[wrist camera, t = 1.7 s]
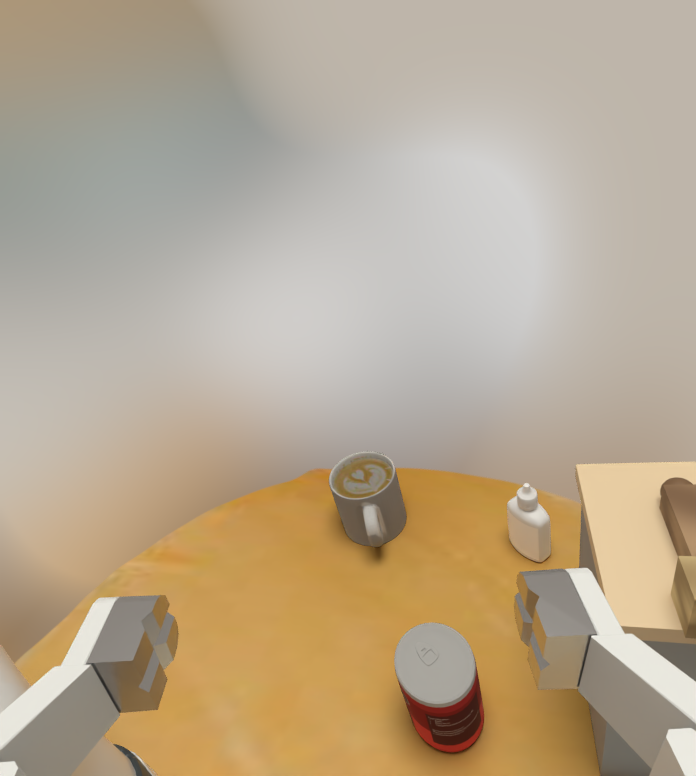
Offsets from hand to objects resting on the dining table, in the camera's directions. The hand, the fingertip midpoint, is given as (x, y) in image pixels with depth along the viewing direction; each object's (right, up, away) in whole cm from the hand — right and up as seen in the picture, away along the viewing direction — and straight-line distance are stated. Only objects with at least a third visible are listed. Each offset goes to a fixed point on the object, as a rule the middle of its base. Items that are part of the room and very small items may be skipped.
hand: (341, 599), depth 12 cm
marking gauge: (+24, -9, +20) cm, 32 cm away
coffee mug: (+4, -17, +66) cm, 68 cm away
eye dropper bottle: (+25, -17, +57) cm, 64 cm away
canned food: (+11, -30, +42) cm, 53 cm away
